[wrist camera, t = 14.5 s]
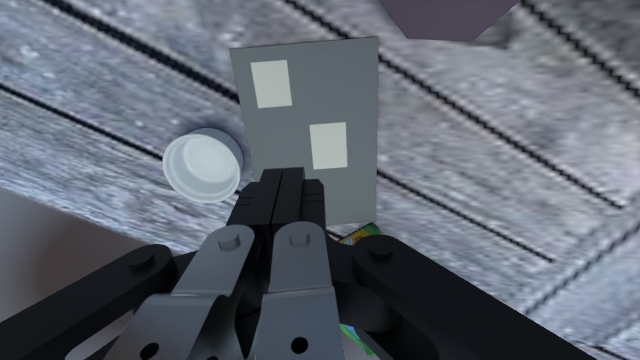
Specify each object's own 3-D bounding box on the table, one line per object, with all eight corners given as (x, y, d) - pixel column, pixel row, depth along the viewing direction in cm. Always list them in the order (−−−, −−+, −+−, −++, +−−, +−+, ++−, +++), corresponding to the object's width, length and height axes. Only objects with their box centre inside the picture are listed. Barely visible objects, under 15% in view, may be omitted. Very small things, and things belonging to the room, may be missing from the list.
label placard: (230, 49, 32) (229, 49, 32) (377, 36, 32) (378, 36, 32) (265, 227, 43) (265, 229, 43) (375, 219, 43) (375, 221, 43)
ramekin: (170, 172, 39) (155, 188, 35) (186, 111, 36) (170, 121, 32) (235, 195, 41) (227, 213, 37) (257, 140, 37) (250, 153, 33)
